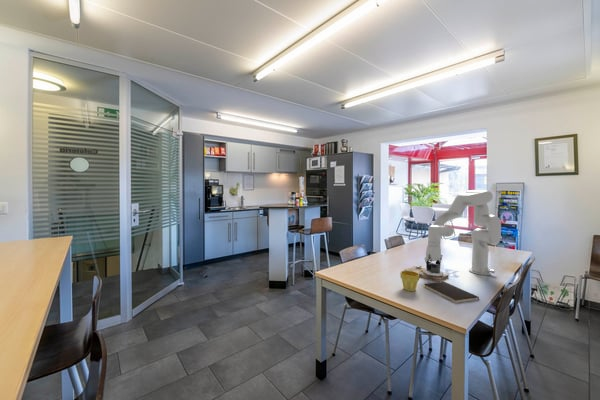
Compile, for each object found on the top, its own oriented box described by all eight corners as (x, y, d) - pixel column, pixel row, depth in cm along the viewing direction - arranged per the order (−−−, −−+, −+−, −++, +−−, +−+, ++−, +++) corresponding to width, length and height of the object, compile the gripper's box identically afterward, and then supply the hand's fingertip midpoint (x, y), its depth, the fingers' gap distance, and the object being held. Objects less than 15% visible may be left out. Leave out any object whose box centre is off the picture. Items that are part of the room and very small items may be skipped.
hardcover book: (455, 304, 133) (455, 299, 133) (423, 287, 155) (423, 283, 155) (479, 300, 137) (479, 296, 137) (444, 285, 159) (444, 281, 159)
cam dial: (446, 274, 171) (446, 264, 170) (438, 278, 164) (438, 267, 163) (424, 268, 183) (424, 259, 182) (415, 271, 176) (416, 261, 175)
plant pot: (397, 285, 156) (397, 270, 156) (414, 285, 156) (414, 270, 156) (403, 292, 146) (404, 275, 145) (422, 292, 146) (422, 276, 145)
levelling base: (448, 277, 171) (448, 272, 171) (439, 282, 162) (439, 276, 162) (414, 268, 190) (414, 263, 190) (404, 272, 181) (404, 267, 181)
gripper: (437, 241, 178) (436, 265, 179) (420, 243, 170) (419, 268, 171) (447, 243, 172) (446, 268, 172) (430, 246, 164) (430, 272, 164)
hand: (433, 268), depth 172 cm, fingers open, 9 cm apart
